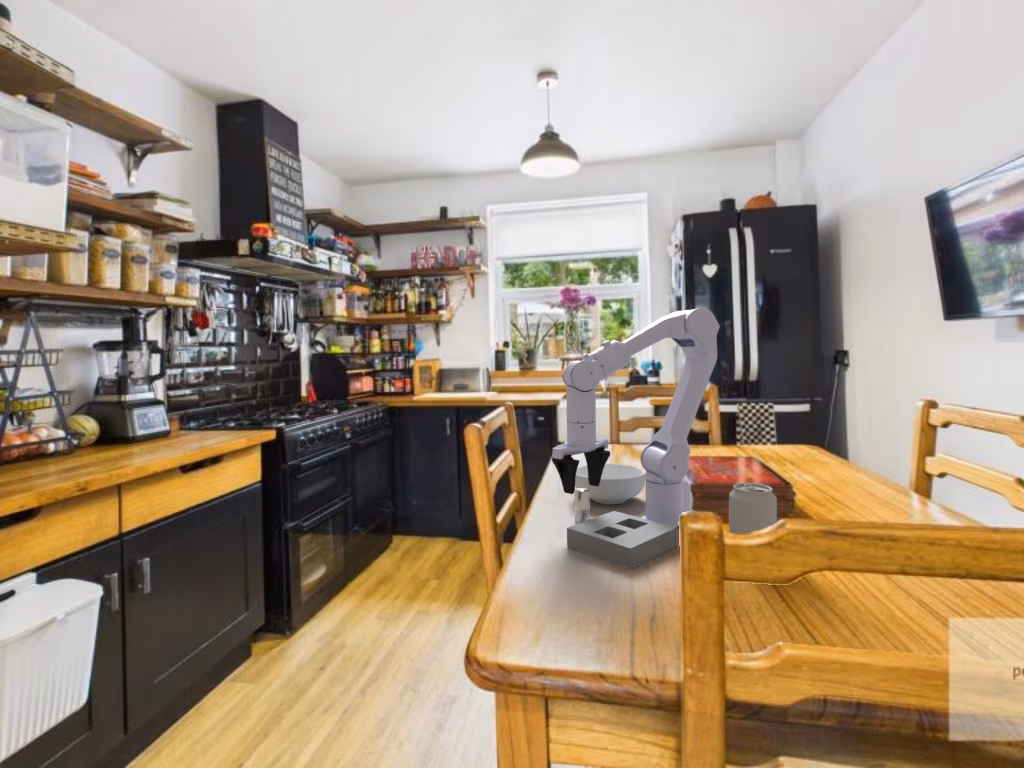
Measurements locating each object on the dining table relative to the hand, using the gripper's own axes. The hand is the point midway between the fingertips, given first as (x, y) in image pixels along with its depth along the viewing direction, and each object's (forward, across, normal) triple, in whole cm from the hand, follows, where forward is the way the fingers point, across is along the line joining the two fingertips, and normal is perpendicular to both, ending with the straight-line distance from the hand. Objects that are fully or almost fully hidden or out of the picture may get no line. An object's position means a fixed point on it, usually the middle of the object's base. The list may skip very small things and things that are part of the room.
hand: (581, 489), depth 106 cm
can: (+8, -11, +29) cm, 32 cm away
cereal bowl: (+8, -20, -9) cm, 24 cm away
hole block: (+8, +2, +11) cm, 14 cm away
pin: (+8, 0, 0) cm, 8 cm away
